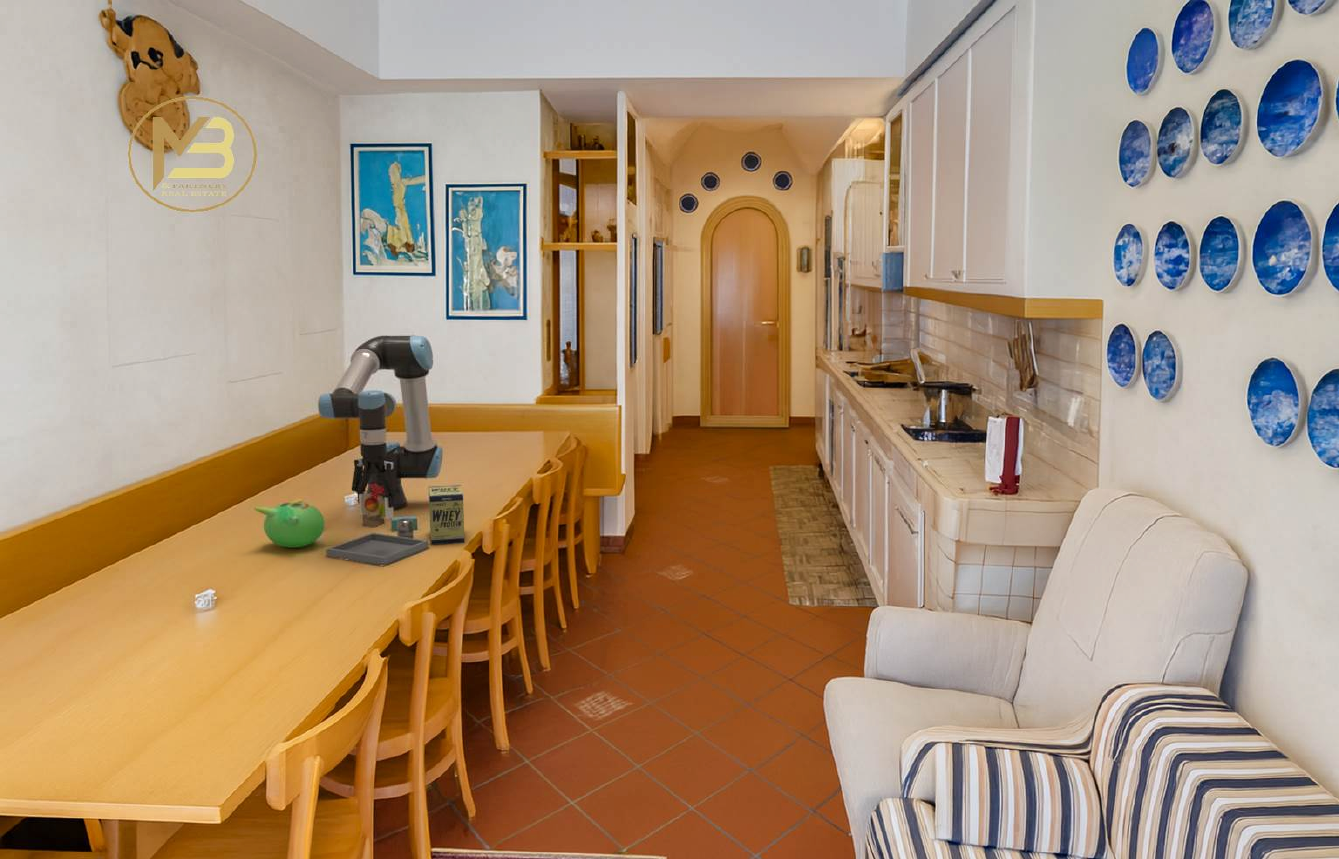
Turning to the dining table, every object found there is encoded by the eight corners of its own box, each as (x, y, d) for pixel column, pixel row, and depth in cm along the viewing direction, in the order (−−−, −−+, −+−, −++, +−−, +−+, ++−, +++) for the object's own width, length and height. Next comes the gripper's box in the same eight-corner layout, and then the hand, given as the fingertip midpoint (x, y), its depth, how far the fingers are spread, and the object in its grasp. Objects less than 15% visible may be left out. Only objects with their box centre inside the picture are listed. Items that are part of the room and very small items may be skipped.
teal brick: (391, 529, 315) (390, 517, 314) (416, 527, 318) (415, 515, 317) (392, 532, 311) (391, 520, 311) (417, 530, 314) (417, 518, 314)
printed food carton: (365, 527, 283) (392, 515, 282) (349, 493, 282) (376, 482, 281) (373, 521, 289) (399, 510, 288) (357, 489, 288) (384, 477, 287)
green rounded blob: (336, 542, 299) (333, 497, 296) (299, 557, 283) (296, 509, 281) (289, 537, 304) (287, 492, 302) (251, 551, 289) (247, 504, 286)
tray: (373, 540, 301) (372, 532, 301) (428, 548, 292) (428, 540, 292) (326, 556, 283) (326, 548, 283) (384, 566, 274) (384, 558, 274)
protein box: (431, 545, 296) (429, 496, 294) (429, 532, 311) (428, 486, 309) (465, 542, 299) (463, 494, 297) (462, 530, 314) (460, 484, 311)
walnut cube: (373, 522, 323) (372, 508, 322) (384, 524, 321) (384, 509, 320) (362, 526, 319) (362, 511, 318) (374, 527, 317) (373, 513, 316)
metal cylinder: (404, 535, 306) (403, 517, 306) (416, 537, 304) (416, 519, 303) (394, 539, 302) (393, 521, 301) (406, 541, 300) (405, 523, 299)
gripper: (336, 441, 283) (339, 515, 287) (393, 447, 274) (396, 522, 278) (354, 438, 290) (357, 509, 294) (410, 443, 281) (413, 517, 285)
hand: (376, 516), depth 286 cm, fingers closed on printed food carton, 9 cm apart
